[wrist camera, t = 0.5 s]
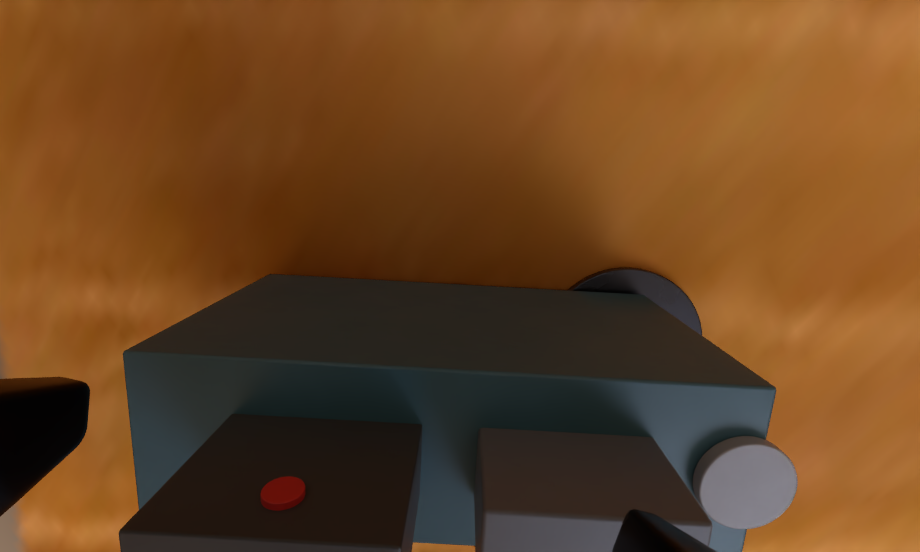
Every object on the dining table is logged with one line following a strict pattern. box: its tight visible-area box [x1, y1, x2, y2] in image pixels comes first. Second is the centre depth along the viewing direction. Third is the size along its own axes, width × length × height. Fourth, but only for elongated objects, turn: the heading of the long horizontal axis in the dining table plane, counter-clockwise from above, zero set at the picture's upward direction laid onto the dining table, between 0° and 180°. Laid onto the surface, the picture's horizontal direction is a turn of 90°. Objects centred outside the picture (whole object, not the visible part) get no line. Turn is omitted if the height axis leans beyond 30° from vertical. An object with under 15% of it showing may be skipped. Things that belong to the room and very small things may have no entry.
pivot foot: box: [568, 268, 702, 336], centre depth 21 cm, size 7×7×1 cm
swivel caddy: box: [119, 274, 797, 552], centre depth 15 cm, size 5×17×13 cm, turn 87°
